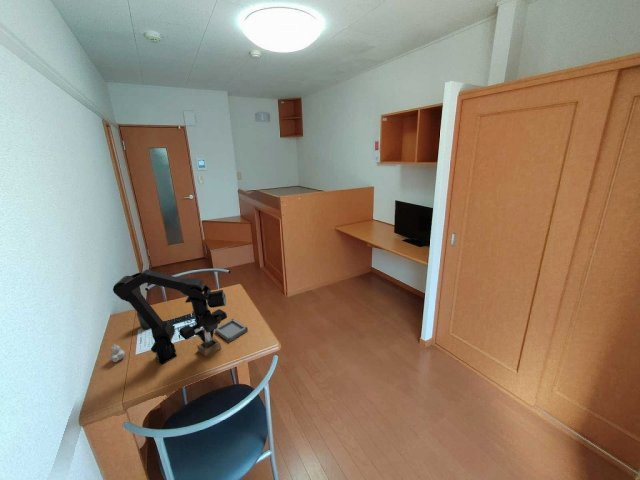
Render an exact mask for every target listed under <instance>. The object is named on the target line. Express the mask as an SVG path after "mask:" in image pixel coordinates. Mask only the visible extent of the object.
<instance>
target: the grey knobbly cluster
mask: <svg viewBox="0 0 640 480" xmlns="http://www.w3.org/2000/svg"><path fill="white" fill-rule="evenodd" d="M110 352H111V353H110V354H109V356H108V359H109V360H110V361H113V363H116V362H118V361H120V360H122V359H124V357H125V355H126V352H125V350H123V349H121V347H120V346H119V345H118V344H115V343H113V345H111V348H110Z"/></svg>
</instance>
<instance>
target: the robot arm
mask: <svg viewBox="0 0 640 480" xmlns="http://www.w3.org/2000/svg"><path fill="white" fill-rule="evenodd" d="M144 284H150V285H153V286H154V285H155V286H159V287H163V288H168V289H172V290H176V291H179V292H180V293H182V295H184V296H186V299H185V302H184V303H191V308H192V314H193V315H194V316H193V317H194V323H195V324H194V325H192V326H191V325H189V324H186V325H185V326H183V327H181V328H180V329H179V330H178V332H179V335H180V337H182V338H183V339H185V340H189V339H191V338H192V337H194V336H198V338H199V339H200V340H201V342H205V339H204V336H203V331H201V328H202V327H203V328H204V329H205V330H206V332H210V333H211V338H214V331H215V329H216V328H217V327H219V326H218V325H219V324H221V323H222V321H224V320H226V319H227V318H228V315H227V313H226V311H224V310H222V309H220V308H219V307H225V306H226V305H227V295H226V293H225V292H224V289H219V290H215V291H212V289H211V288H210V287H209V286H207V285H206V284H205V283H204V281H203V280H202V279H200V278H195V277H188V278H187V277H186V278H183V277H182V278H180V277H177V276H175V275H170V274H165V273H161V272H157V271H153V270H152V269H145V270H142V271H140V272H136V273H134V274H131V275H125V276H122V278H120V279H119V280H118V281H117V282H116V283H115V284H114V286H113V288H112V292H113V293H114V294H115V296H117V298H119V299H120V300H122V301H124V302H128V303H129V304H130V305H131V307H132V308H133V309H134V310H135V312H136V313H137V312H138V314H139V315H140V316H141V317H142V319H143V320H144V321H145V322H146V323H147V325H148V326H149V327H150V328H149V329H150V330H151V334H152V338H153V340H154V343H153V345H152V346H151V348H150V351H151V352H152V353H153V354H155V359H156V361H157V362H158V363H159V364H160V365H163V364H165V363H166V362H169V361H170V360H172V359H174V358H176V357H177V356H178V354H177V352H176V351H177V350H176V347H175V344H174V343H173V342H172V340H173V338H174V335H175V333H176V329H175V328H176V326H175V325H173V323H172V321H170V320H168V321H163V320H162V318H161V317H160V316H159V314H158V313H157V312H156V311H155V309H154V308H153V307H152V306H151V304H150V303H149V302H148V300H146V298H145V297H144V295H143V294H142V292H141V286H143V285H144ZM209 308H210V309H211V308H212V309H213V308H218V309H216V310H214V311H212V312H211V310H210V309H209Z"/></svg>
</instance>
